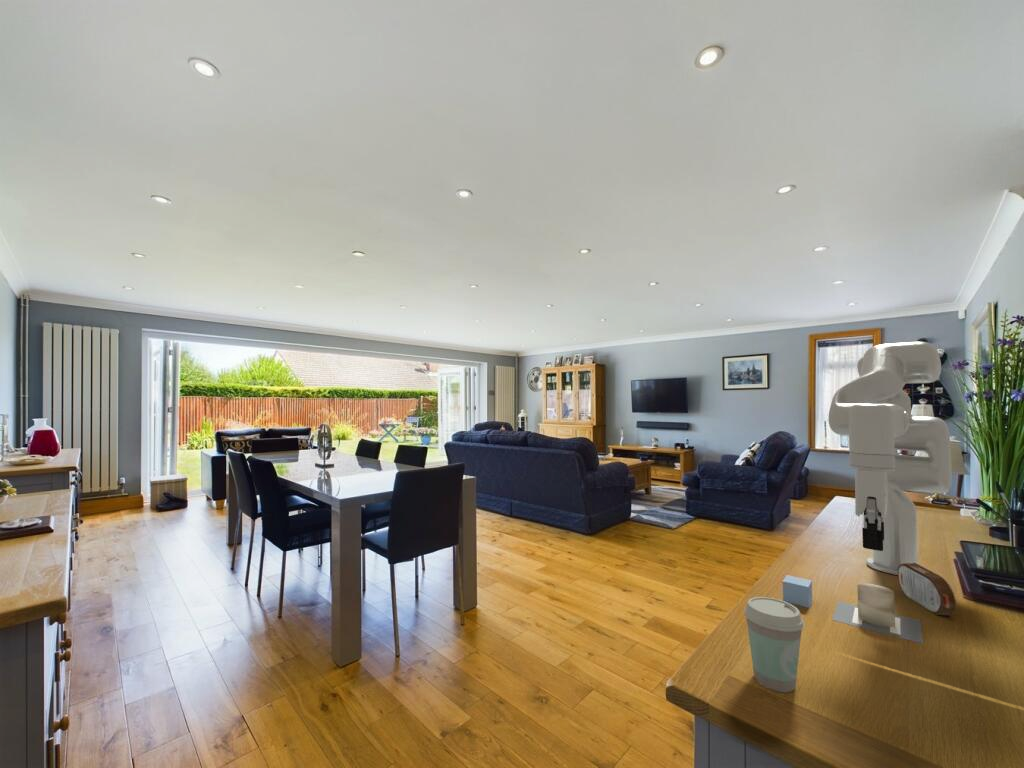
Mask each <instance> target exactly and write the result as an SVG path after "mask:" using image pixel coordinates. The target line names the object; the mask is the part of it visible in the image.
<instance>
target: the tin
mask: <svg viewBox="0 0 1024 768" xmlns="http://www.w3.org/2000/svg"><path fill="white" fill-rule="evenodd" d="M897 570H898V575H897V579H898V586H899V587H900V590H901V591H902V593H903V595H905V597H907V598H908V599H910V600H912V601H913V602H915V603H916V604H918V605H919V606H921V607H923V608H924V609H926V610H927V611H929V612H930V613H933V614H934V615H936V616H948V617H952V616H953V615H954V614H955V613H956V610H957V602H956V597H955V593H954V592H953V590H952V587H951V585H950V584H949V583H948V581H946V579H945V578H944V577H942V576H941V575H939V574H937V573H935V572H934V571H932V570H930V569H928V568H925V567H924V566H922V565H920V564H919V563H918V564H916V563H904V564H900V565H899V566H898V569H897Z"/></svg>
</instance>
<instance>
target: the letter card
mask: <svg viewBox="0 0 1024 768" xmlns="http://www.w3.org/2000/svg"><path fill="white" fill-rule="evenodd" d="M832 621H834V622H838V623H840V624H841V623H842V624H846V625H850V626H853V627H857V628H861V629H864V630H869V631H873V632H876V633H879V634H883V635H886V636H887V635H888V636H892V637H895V638H900V639H903V640H907V641H911V642H915V643H918V644H924V641H923V632H922V622H921V619H919V620H918V619H915V618H910V617H907V616H902V615H899V614H895V626H894V627H880V626H876V625H872V624H869V623H867V622H864V621H863V620H861V619H860V618H859V617H858V604H857V605H856V604H852V603H848V602H843V601H839V600H838V601H837V603H836V606H835V609H834V612H833V616H832Z"/></svg>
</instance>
